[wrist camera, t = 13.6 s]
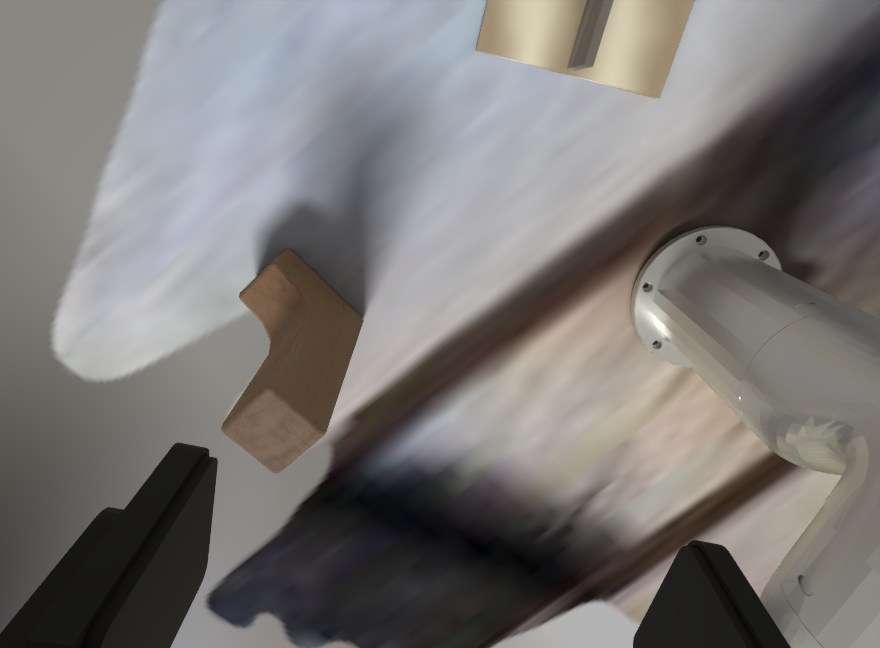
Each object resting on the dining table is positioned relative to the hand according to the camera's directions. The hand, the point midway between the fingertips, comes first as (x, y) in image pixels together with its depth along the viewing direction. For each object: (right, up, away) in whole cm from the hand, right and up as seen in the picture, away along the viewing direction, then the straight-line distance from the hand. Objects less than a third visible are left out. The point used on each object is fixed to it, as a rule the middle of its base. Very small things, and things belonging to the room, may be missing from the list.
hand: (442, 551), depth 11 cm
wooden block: (-11, +7, +37) cm, 39 cm away
